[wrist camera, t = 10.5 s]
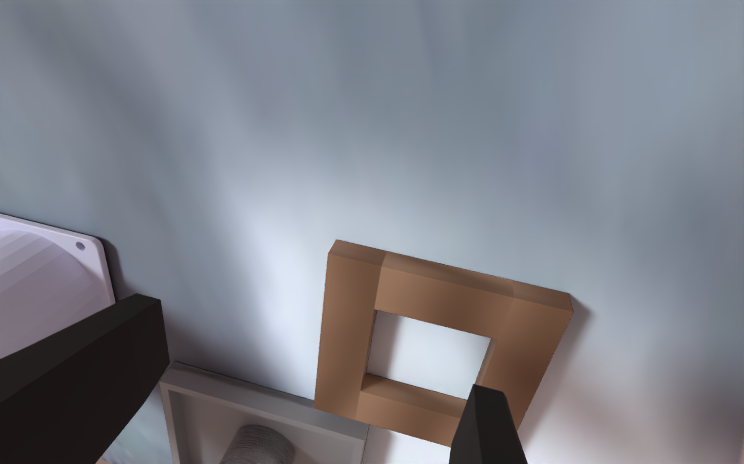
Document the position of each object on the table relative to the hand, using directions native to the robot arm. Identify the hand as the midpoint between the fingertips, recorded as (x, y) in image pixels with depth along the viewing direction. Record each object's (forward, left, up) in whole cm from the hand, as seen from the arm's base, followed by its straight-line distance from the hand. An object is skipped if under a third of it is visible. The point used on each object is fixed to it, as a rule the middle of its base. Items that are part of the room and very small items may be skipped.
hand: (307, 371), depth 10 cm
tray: (-5, -19, -9) cm, 21 cm away
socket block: (+3, -8, -9) cm, 12 cm away
